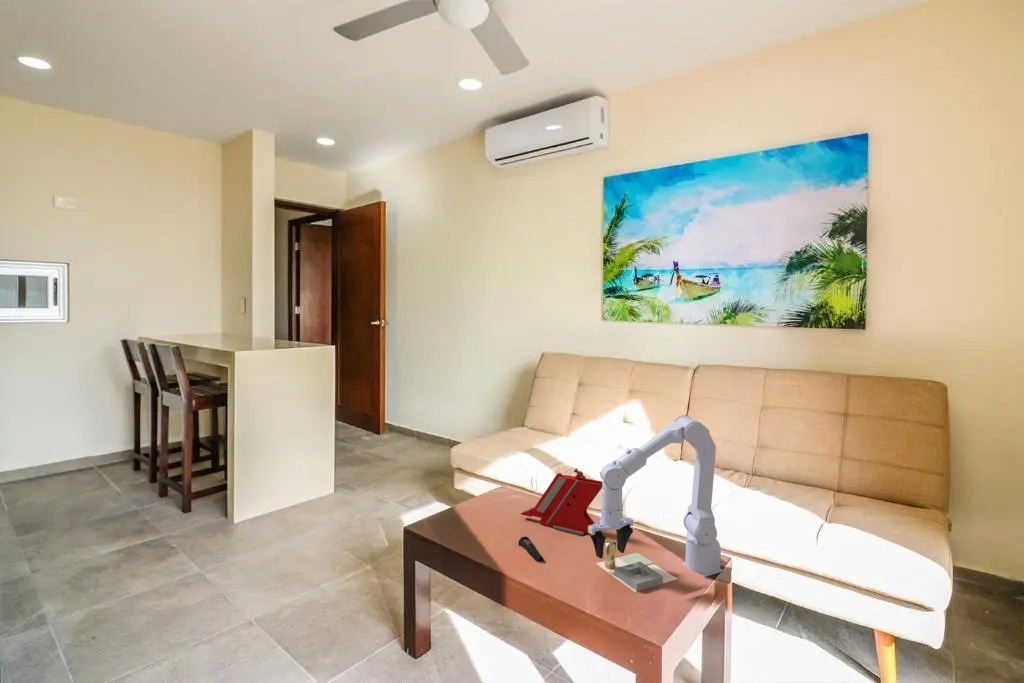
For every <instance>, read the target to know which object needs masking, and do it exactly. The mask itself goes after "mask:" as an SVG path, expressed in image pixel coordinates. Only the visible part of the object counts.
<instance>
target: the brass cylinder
mask: <svg viewBox="0 0 1024 683" xmlns="http://www.w3.org/2000/svg"><path fill="white" fill-rule="evenodd" d="M616 555H617V541H615V540H611V539H610V540H605V543H604V561H605V568H607V569H615V564H616V558H617V556H616Z"/></svg>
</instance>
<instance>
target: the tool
mask: <svg viewBox="0 0 1024 683" xmlns="http://www.w3.org/2000/svg"><path fill="white" fill-rule="evenodd" d="M573 473H575V474H576V475H575V476H574V475H567V474H563V473H562V472H558V473H556V474H555V476H554V478H553V479H552V480H551V482H550V484H549V485H548V487H546V490H545V491H544V493H543V494H542V495H541V497H540V499H539V500H538V502H537V503H536V505H535V506H534V507H530V508H529V509H528V510H525V511H522V512H521V513H520V516H521V515H522V516H525V517H530V518H531V517H536V518H540V520H539V521H538V523H539V524H540V525H542V526H547V527H550V528H553V530H556V531H560V532H563V533H568V534H573V535H576V536H577V535H578V536H580V537H585V535H586V534H589V533H588V526H589V525H592V524H594V523H596V521H594V520H593V519H592V518H591V516H590V514H588V508H589V507H590V505H591V503H592V502H593V501H594V500H595V498H596V497H597V495H598V494H599V492H600V491H602V484H603V480H598V479H597V480H596V479H592V478H587V477H586V476H585V475H584V472H582V471H581V470H579V468H577V467H576V468H575V469H574V470H573Z"/></svg>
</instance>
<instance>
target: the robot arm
mask: <svg viewBox="0 0 1024 683" xmlns="http://www.w3.org/2000/svg"><path fill="white" fill-rule="evenodd" d="M684 440H685V441H686V442H687V443H688V444H689V445H690V446H691V447H692V448H693V449H694V450H695V457H694V466H693V467H694V468H693V471H694V472H693V481H692V492H691V504H689V505H688V507H687V510H686V511H687V512H686V513H685V516H684V517H683V526H684V528H685V529H686V530H687V531H686V535H685V536H686V537H685V557H684V558H685V559H684V560H685V561H684V562H683V563H681V565H683V566H685V568H687V570H688V571H689V570H690V571H691V572H694V573H697V574H699V575H701V576H702V577H703V578H706V577H708V576H709V577H710V576H713V575H715V574H719V573H723V569H722V568H721V558H722V557H721V556H722V554H721V553H722V552H721V551H722V549H721V544H720V542H719V541H718V539H717V536H718V531H717V527H716V524H715V523H716V519H715V516H714V513H713V510H712V502H713V492H714V491H713V490H714V477H715V466H716V465H715V464H716V463H715V462H716V456H717V455H716V453H717V446H716V443H715V442H714V440H713V438H712V436H711V434H710V429H709V428H708V427H706V426H705V425H704V424H703V423H701V422H699V421H697V420H695V419H693V418H692V417H690V416H689V415H685V414H684V415H679V416H677V417H676V418H675V419H674V420H671V421H669V422H668V424H666V426H665V427H664V428H663V429H661V430H660V431H659V432H658V433H656V434H655V435H654V436H652V438H651V439H649V440H648V441H647V442H646V443H644V444H643V445H642V446H641V447H639V448H638V447H632V448H627V449H626V450H625V451H624V452H625V453H624V454H622V455H621V456H620V457H619V458H617V459H613V460H611V463H607V464H605V465H604V466H603V467H602V468H601V471H600V472H599V475H600V478H601V481H602V482H603V484H602V488H601V503H600V504H601V508H600V519H599V521H597V522H596V521H595V523H594V524H592V525H589V526H588V533H587V534H588V535H589V537H590V538H591V542H592V545H593V547H594V550H595V556H596V557H597V558H599V559H603V556H604V549H605V542H606V541H607V536H605V535H604V534H603V532H607V531H612V530H613V531H616V540H617V541H616V550H617V551H618V552H619V553H621V554H624V553H625V550H626V547H627V544H628V542H629V539H630V537H631V535H633V533H634V529H633V528H632V527H633V526H634V519H633V518H631V517H629V516H627V517H622V514H623V512H622V511H623V487H624V485H625V484H626V481H627V479H629V478H630V477H631V476H632V475H634V474H636V473H637V472H638V471H640V470H641V469H642V468H643V467H645V466H646V465H647V460H648V458H650V457H651V456H653V455H655V454H657V452H659V451H661V450H663V449H664V448H666V447H667V446H668V445H670V444H685V441H684Z"/></svg>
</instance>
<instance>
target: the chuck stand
mask: <svg viewBox="0 0 1024 683" xmlns="http://www.w3.org/2000/svg"><path fill="white" fill-rule="evenodd" d="M595 564H596V566H598V567H600V568H601V569H603V570H604V571H605V572H607V573H608V574H609V575H611V576H612V577H614V578H615V579H616V580H618V581H619V582H620V583H622V584H623V585H625V586H626V587H628V589H630V590H631V591H633V592H634V593H635V592H640V591H643V590H647V589H650V588H653V587H656V586H659V585H662V584H666V583H669V582H672V581H675V580H678V578H677V577H676V576H674V575H672V574H671V573H669V572H668V571H666V570H664V569H663V568H661V567H659V566H658V565H657V564H655V563H654V562H653V561H652V560H650V559H648V558H647V557H645V556H643V555H642V554H640V553H638V552H634V553H630V554H626V555H625V554H624V555H622V556H618V557H616V564H615V569H607V568H605V560H603V561H599V562H595Z"/></svg>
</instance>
